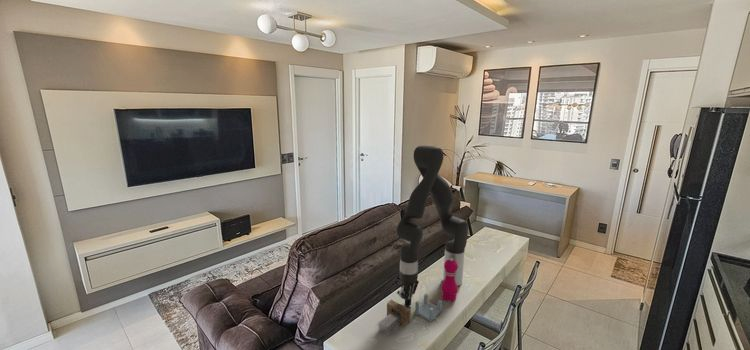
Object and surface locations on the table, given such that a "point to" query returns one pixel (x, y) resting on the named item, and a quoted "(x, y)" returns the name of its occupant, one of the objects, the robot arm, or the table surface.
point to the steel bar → (391, 321)
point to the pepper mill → (449, 280)
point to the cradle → (428, 309)
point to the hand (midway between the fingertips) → (407, 305)
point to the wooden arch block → (404, 311)
